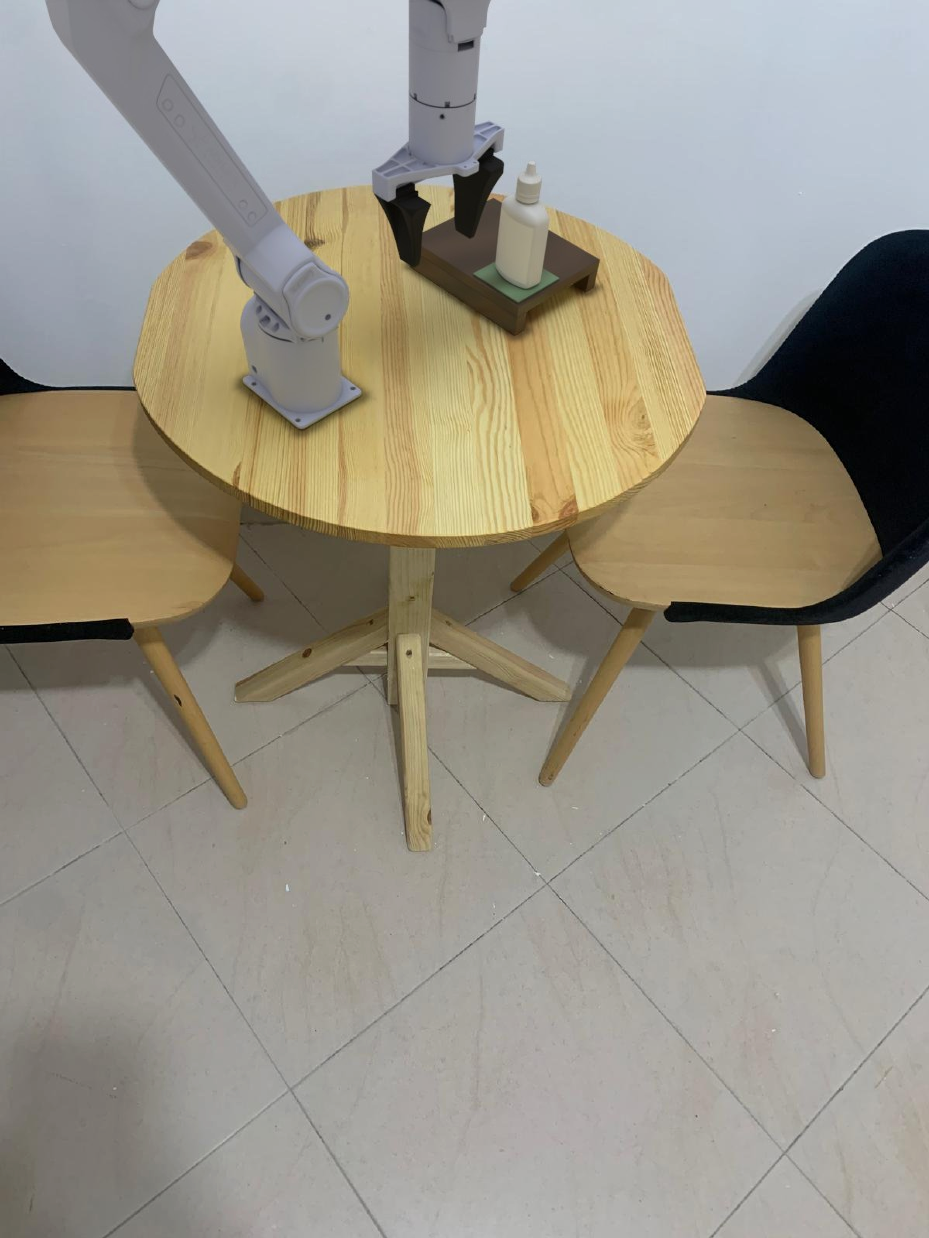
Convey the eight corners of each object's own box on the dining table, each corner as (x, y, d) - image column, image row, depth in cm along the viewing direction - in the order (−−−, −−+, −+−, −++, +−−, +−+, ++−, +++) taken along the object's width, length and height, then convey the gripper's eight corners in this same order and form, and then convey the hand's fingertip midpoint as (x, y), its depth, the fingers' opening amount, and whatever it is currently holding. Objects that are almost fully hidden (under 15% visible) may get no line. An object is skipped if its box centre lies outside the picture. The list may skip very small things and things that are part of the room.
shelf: (409, 266, 91) (409, 236, 88) (490, 225, 97) (493, 196, 94) (514, 335, 85) (518, 306, 82) (594, 287, 91) (600, 258, 88)
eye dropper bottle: (503, 292, 84) (516, 178, 74) (492, 262, 86) (503, 149, 76) (542, 290, 84) (560, 177, 74) (530, 260, 87) (546, 148, 77)
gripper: (412, 137, 60) (411, 295, 71) (535, 86, 66) (517, 238, 77) (352, 103, 62) (360, 260, 74) (477, 57, 69) (467, 209, 80)
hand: (437, 247), depth 76 cm, fingers open, 7 cm apart
